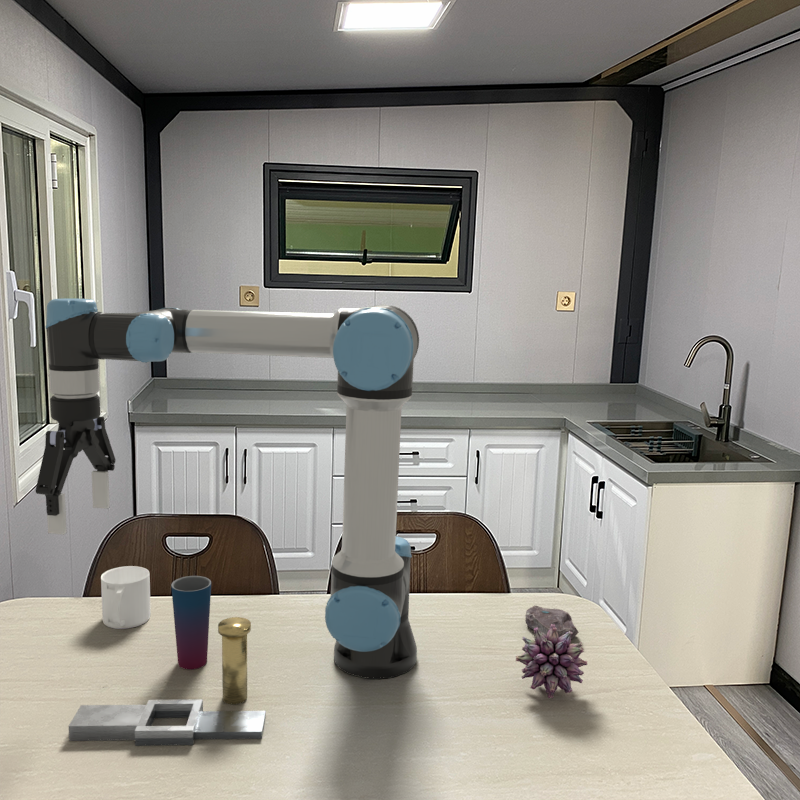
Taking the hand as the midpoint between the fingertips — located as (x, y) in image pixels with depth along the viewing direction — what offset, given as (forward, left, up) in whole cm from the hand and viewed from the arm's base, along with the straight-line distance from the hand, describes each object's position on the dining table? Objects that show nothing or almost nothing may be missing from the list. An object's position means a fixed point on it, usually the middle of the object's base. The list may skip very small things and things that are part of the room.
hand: (80, 520), depth 133 cm
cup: (-17, -6, -28) cm, 33 cm away
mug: (+3, -19, -28) cm, 34 cm away
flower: (-79, -6, -28) cm, 85 cm away
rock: (-82, -29, -28) cm, 91 cm away
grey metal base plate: (-21, +14, -28) cm, 37 cm away
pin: (-28, +4, -28) cm, 39 cm away
